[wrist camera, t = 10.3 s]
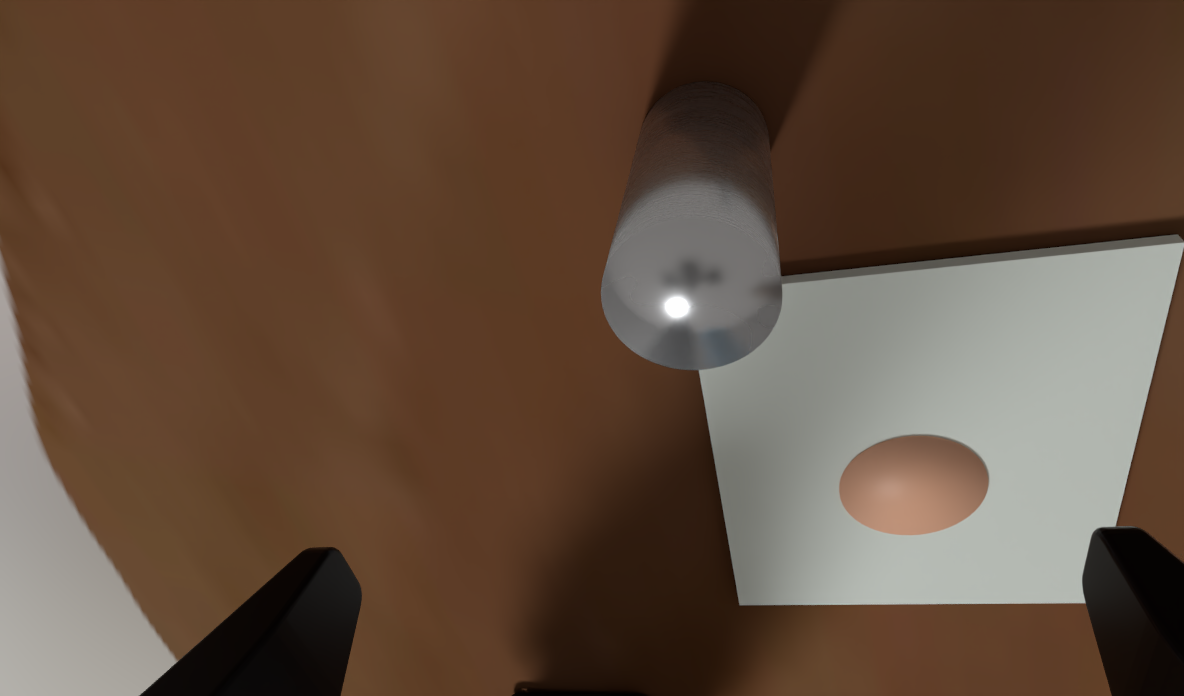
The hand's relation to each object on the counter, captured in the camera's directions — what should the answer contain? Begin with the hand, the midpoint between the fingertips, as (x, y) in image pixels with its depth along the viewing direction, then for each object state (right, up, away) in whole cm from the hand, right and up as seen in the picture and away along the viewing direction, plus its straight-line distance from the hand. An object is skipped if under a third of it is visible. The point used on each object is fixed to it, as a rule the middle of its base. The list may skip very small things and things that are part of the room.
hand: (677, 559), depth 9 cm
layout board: (+15, +1, +13) cm, 19 cm away
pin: (+2, +8, +10) cm, 13 cm away
